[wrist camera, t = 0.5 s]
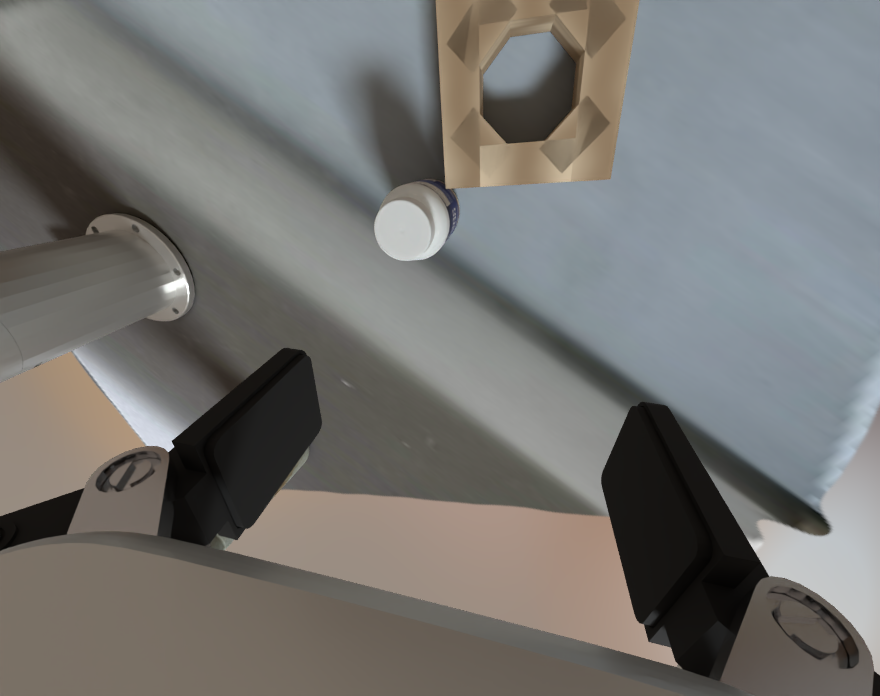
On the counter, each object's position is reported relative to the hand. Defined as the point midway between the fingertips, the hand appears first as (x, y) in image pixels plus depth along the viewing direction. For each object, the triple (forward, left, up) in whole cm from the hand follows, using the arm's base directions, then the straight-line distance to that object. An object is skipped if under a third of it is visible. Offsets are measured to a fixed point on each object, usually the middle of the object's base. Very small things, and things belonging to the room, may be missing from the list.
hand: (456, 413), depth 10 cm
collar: (+2, +11, -25) cm, 27 cm away
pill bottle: (-6, +3, -25) cm, 26 cm away
